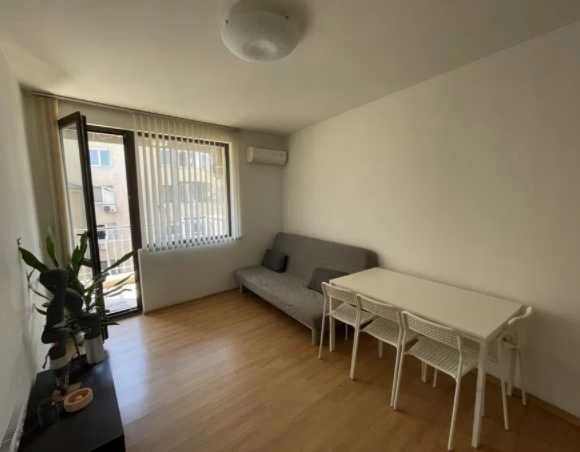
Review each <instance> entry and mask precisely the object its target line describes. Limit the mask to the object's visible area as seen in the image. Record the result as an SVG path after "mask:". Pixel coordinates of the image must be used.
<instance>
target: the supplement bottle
mask: <svg viewBox="0 0 580 452" xmlns="http://www.w3.org/2000/svg"><path fill="white" fill-rule="evenodd" d="M37 416H38V421H39V425H40V427H41V428H46V427H49V426H50V425H53V424H54V423H56V422H57V421H58V420H59V418H60V411H59V406H58V402H56V401H53V397H51V396H47V397H45V398H43V399H41V400H40V401H39V402H38V408H37Z"/></svg>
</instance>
